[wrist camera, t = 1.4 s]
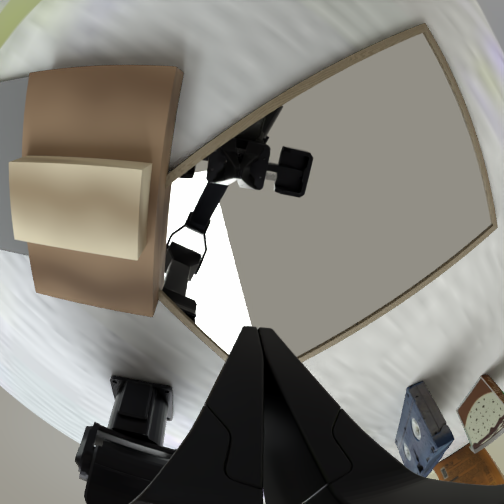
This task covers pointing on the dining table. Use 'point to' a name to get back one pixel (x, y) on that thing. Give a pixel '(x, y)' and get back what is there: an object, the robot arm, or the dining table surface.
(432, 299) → the dining table surface
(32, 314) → the dining table surface
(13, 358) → the dining table surface
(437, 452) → the vhs cassette tape
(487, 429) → the food container
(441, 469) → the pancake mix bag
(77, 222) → the maple tile
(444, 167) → the rectangular mirror
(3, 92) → the rubber mat
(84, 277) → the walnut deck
